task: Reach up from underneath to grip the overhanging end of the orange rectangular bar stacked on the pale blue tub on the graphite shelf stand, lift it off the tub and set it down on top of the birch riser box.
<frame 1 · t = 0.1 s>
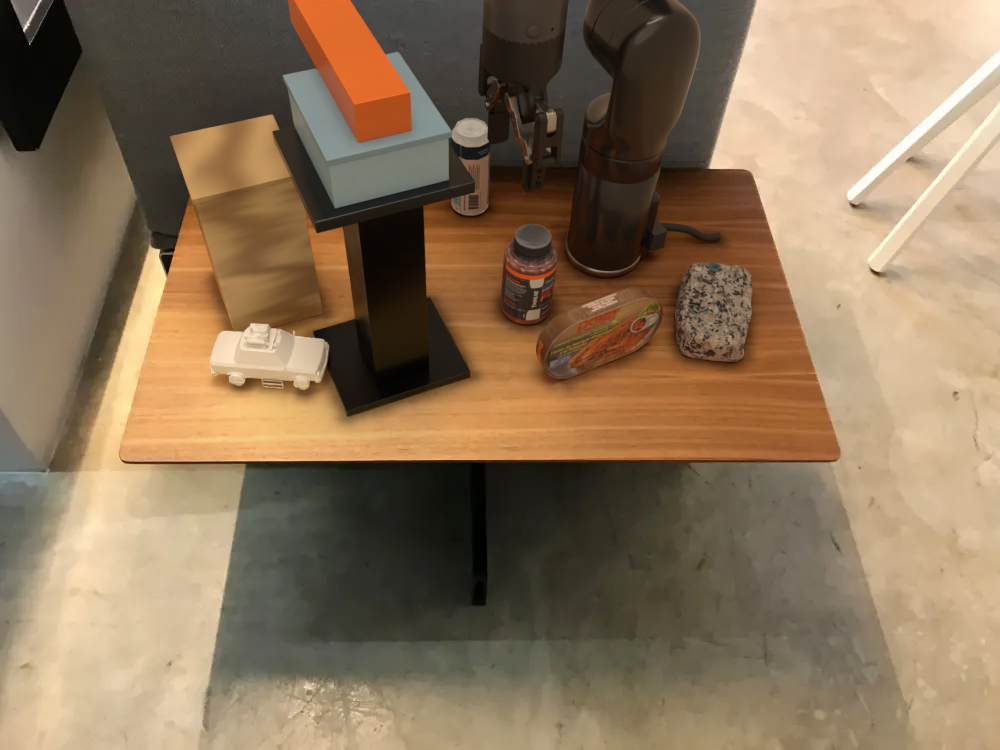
hand: (514, 164, 89), 17 cm above the table, tool pointing down, fingers open, 8 cm apart
supplement bottle: (525, 309, 100), on the table
tin: (594, 357, 96), on the table
beer can: (469, 207, 111), on the table
rock: (711, 325, 100), on the table
shelf stand: (391, 356, 94), on the table
riser box: (268, 296, 99), on the table
toy car: (274, 372, 93), on the table
storage tub: (369, 152, 74), point 27 cm above the table, touching orange rectangular bar, shelf stand
orange rectangular bar: (347, 73, 73), point 32 cm above the table, touching storage tub
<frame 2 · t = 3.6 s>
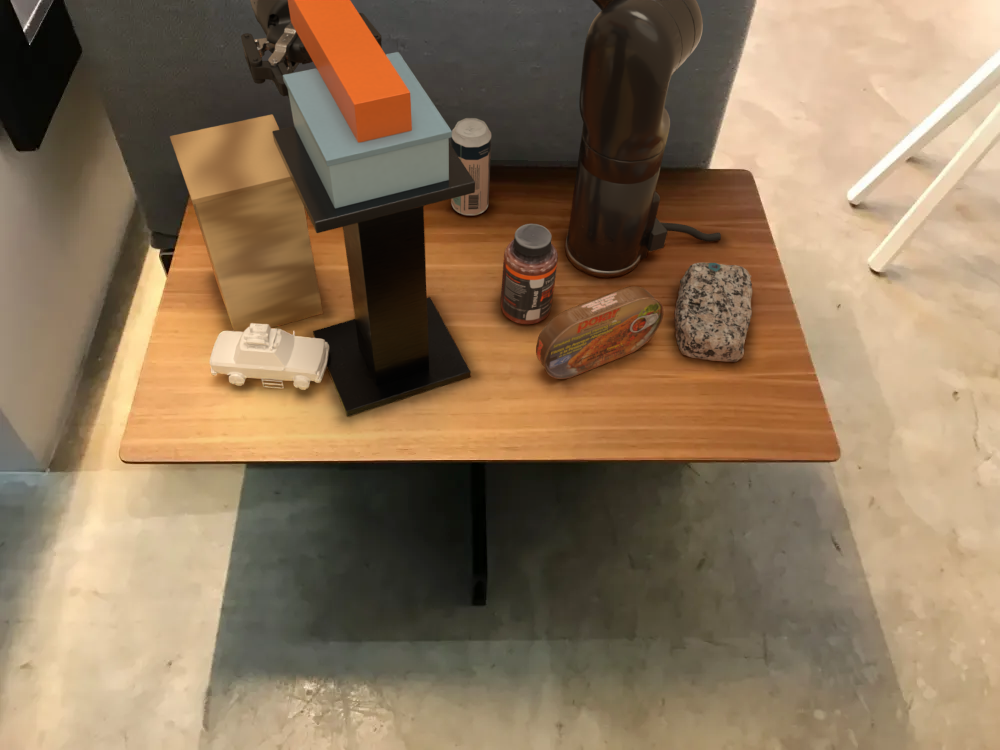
hand: (332, 83, 88), 22 cm above the table, tool horizontal, fingers open, 8 cm apart
nothing on the table moved.
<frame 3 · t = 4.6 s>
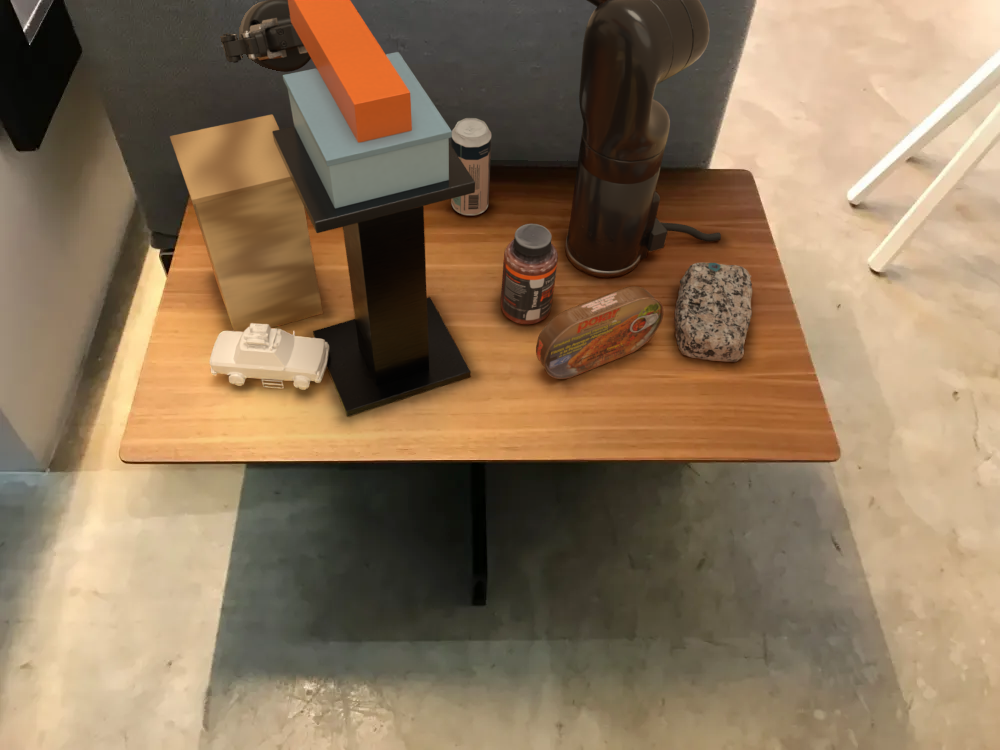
hand: (304, 36, 84), 27 cm above the table, tool pointing upward, fingers open, 8 cm apart
nothing on the table moved.
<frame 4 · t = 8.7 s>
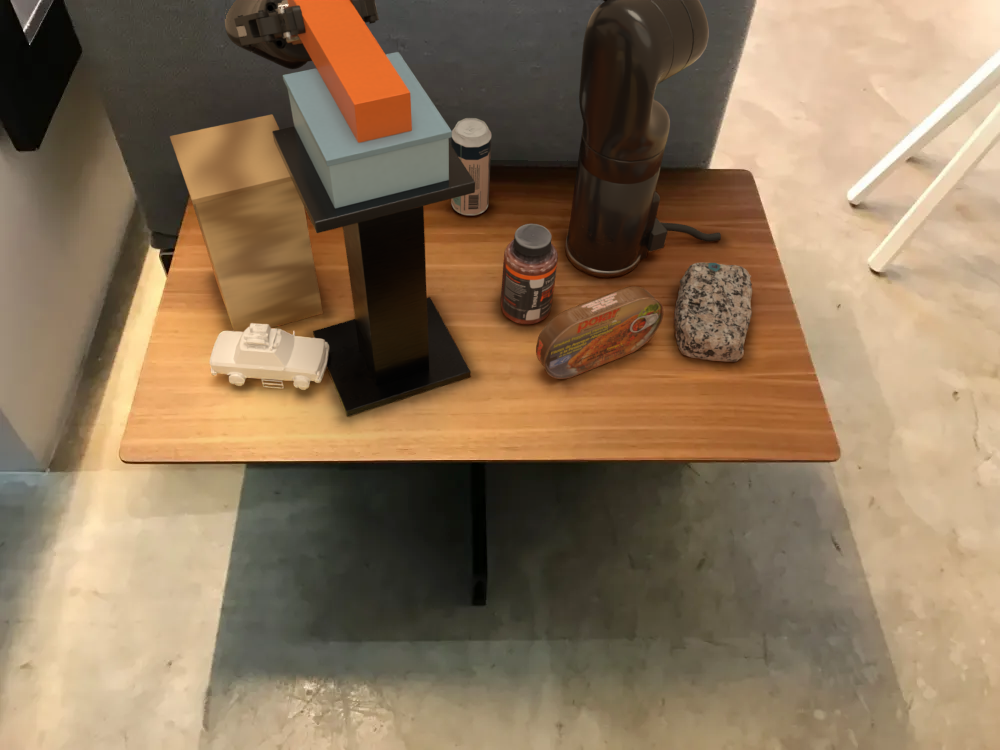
hand: (329, 14, 73), 35 cm above the table, tool pointing upward, fingers closed on orange rectangular bar, 4 cm apart
orange rectangular bar: (347, 73, 73), point 32 cm above the table, touching gripper, storage tub
everything else where it was.
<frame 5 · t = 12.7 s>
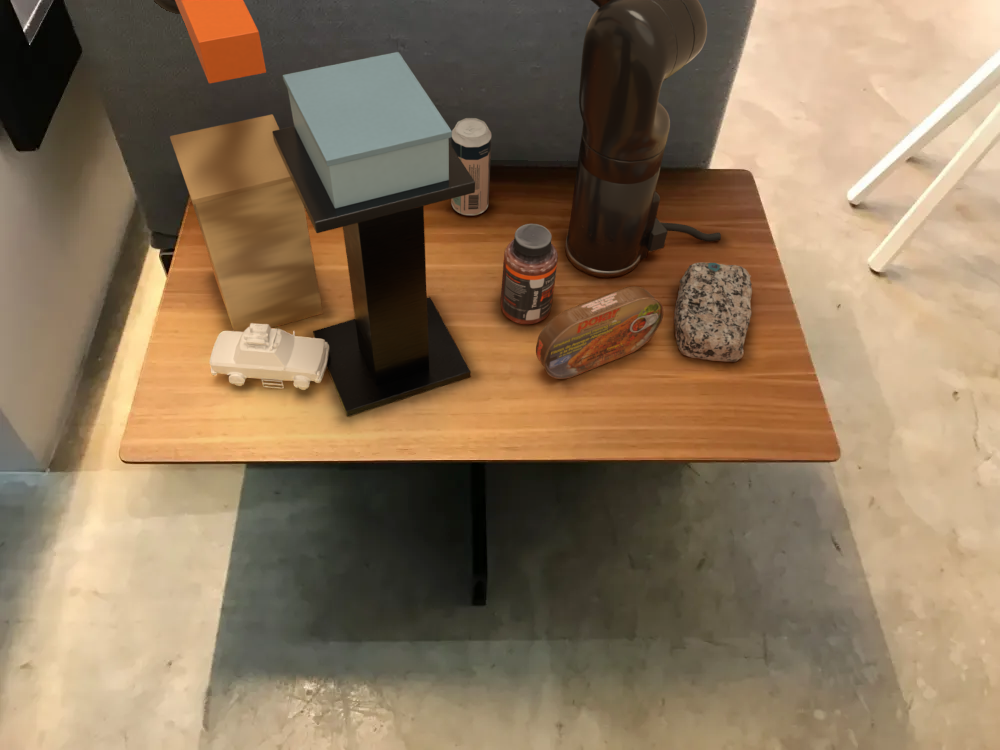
storage tub: (369, 152, 74), point 27 cm above the table, touching shelf stand
orange rectangular bar: (210, 17, 72), point 35 cm above the table, touching gripper
everything else where it was.
when the fingers open (23 cm above the table, at t = 17.1 s): orange rectangular bar stays where it is, resting on riser box.
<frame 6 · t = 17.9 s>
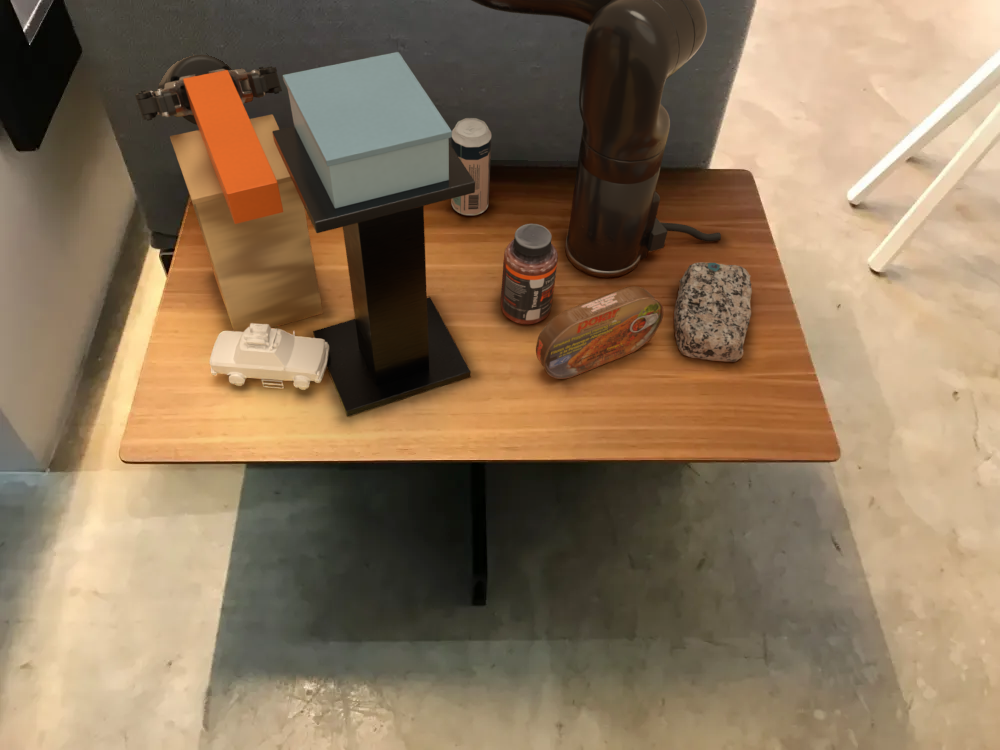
hand: (214, 94, 83), 24 cm above the table, tool pointing upward, fingers open, 8 cm apart
orange rectangular bar: (234, 157, 83), point 20 cm above the table, touching riser box
everything else where it was.
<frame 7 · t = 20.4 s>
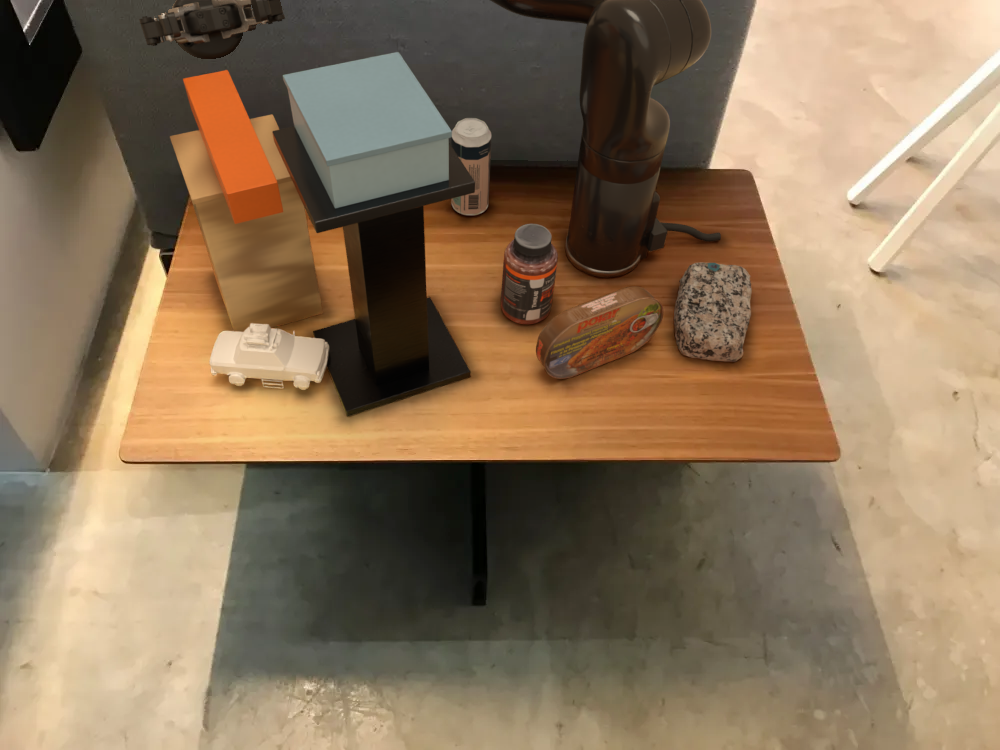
hand: (218, 16, 84), 28 cm above the table, tool pointing upward, fingers open, 8 cm apart
nothing on the table moved.
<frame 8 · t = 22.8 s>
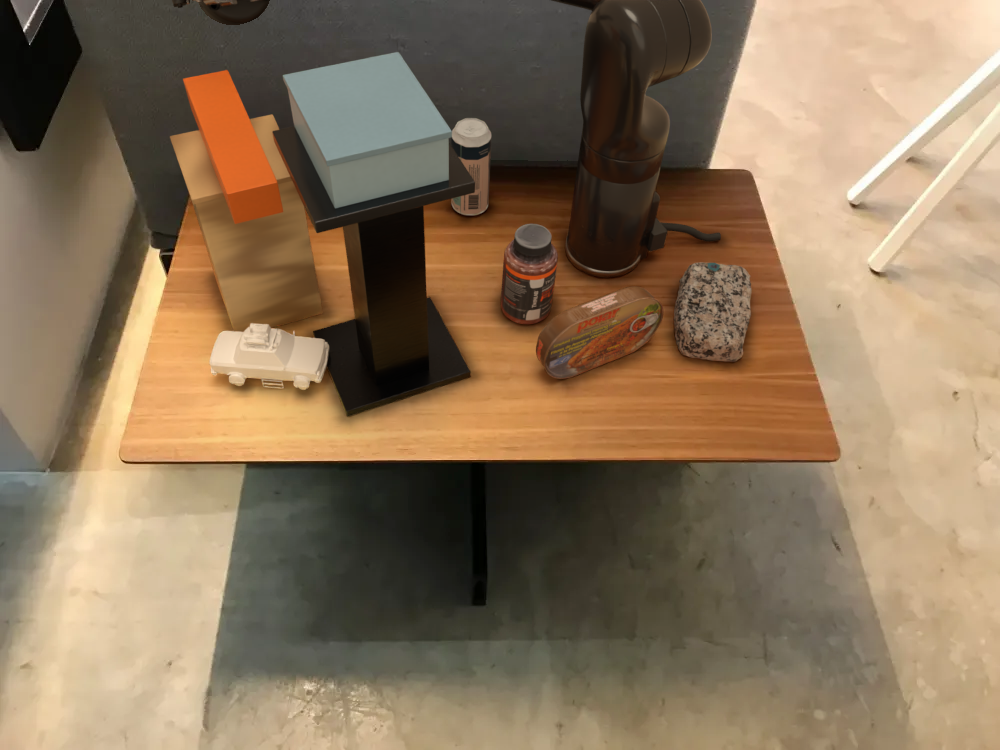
nothing on the table moved.
at the end: orange rectangular bar inside the target area on the riser box (1.5 cm from its centre), point 20.0 cm above the riser box's base; orange rectangular bar touching riser box; storage tub moved 0.0 cm from its start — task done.
